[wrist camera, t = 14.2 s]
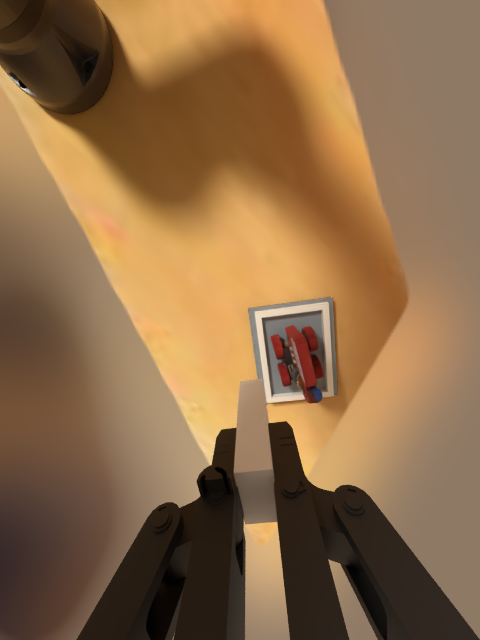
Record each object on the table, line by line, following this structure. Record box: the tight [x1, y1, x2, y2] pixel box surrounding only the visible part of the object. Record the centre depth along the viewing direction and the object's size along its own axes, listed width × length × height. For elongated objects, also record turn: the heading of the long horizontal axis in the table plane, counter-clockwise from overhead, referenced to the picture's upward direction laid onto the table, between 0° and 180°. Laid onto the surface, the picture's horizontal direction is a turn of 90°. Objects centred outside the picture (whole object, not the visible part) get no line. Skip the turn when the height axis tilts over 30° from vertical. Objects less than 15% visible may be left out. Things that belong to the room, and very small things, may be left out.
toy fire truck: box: [270, 325, 324, 403], centre depth 34 cm, size 7×12×10 cm, turn 15°
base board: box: [248, 297, 338, 403], centre depth 39 cm, size 18×14×2 cm
